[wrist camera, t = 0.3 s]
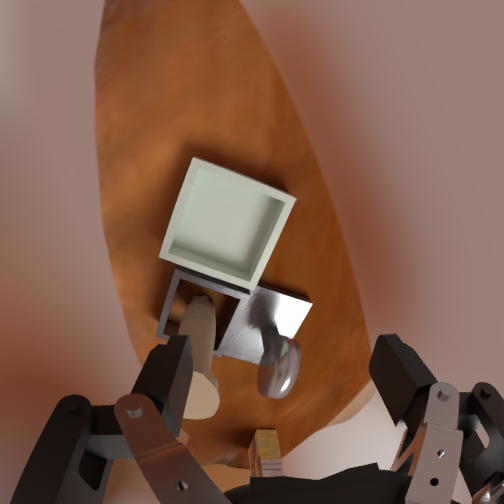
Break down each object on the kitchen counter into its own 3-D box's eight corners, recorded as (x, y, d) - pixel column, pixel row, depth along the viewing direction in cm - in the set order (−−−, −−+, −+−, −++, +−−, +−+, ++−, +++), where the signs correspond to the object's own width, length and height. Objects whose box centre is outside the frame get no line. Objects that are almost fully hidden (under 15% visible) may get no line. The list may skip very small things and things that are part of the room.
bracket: (181, 253, 31) (158, 304, 20) (309, 298, 34) (339, 356, 24) (158, 326, 34) (137, 389, 23) (273, 360, 37) (286, 423, 27)
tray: (197, 157, 28) (193, 157, 24) (288, 193, 30) (296, 198, 26) (165, 246, 31) (158, 257, 27) (251, 277, 33) (254, 290, 29)
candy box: (266, 449, 47) (275, 509, 32) (246, 449, 46) (252, 510, 32) (276, 428, 44) (289, 496, 30) (254, 428, 43) (263, 498, 29)
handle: (217, 279, 32) (211, 368, 18) (224, 324, 35) (223, 418, 21) (178, 282, 32) (148, 369, 18) (187, 326, 34) (170, 418, 20)
